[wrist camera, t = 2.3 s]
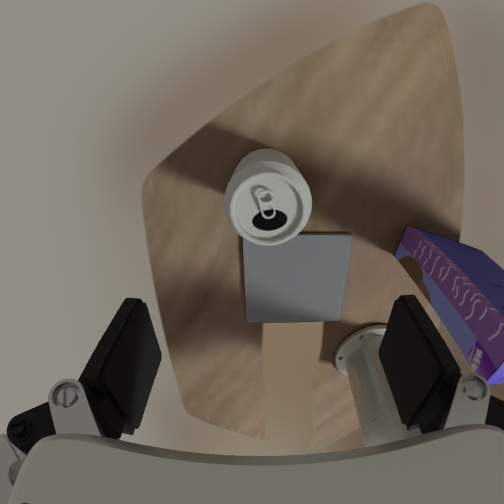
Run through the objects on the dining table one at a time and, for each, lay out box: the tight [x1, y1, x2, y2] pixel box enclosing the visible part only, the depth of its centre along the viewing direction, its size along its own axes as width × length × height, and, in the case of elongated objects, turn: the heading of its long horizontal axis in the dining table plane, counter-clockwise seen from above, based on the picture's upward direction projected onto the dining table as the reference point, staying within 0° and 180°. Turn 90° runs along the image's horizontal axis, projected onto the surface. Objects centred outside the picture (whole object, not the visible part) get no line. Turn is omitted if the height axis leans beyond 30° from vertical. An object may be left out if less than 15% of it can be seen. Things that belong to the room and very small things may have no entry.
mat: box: [243, 233, 353, 323], centre depth 39 cm, size 14×14×1 cm
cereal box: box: [394, 225, 504, 385], centre depth 26 cm, size 17×5×24 cm, turn 78°
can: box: [224, 149, 312, 246], centre depth 28 cm, size 8×8×12 cm
